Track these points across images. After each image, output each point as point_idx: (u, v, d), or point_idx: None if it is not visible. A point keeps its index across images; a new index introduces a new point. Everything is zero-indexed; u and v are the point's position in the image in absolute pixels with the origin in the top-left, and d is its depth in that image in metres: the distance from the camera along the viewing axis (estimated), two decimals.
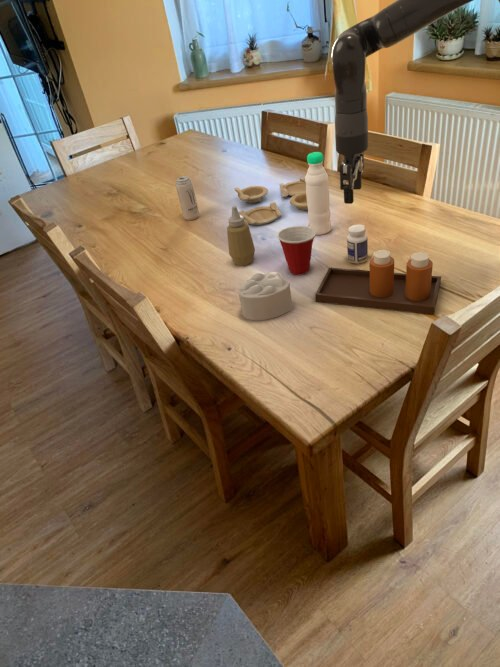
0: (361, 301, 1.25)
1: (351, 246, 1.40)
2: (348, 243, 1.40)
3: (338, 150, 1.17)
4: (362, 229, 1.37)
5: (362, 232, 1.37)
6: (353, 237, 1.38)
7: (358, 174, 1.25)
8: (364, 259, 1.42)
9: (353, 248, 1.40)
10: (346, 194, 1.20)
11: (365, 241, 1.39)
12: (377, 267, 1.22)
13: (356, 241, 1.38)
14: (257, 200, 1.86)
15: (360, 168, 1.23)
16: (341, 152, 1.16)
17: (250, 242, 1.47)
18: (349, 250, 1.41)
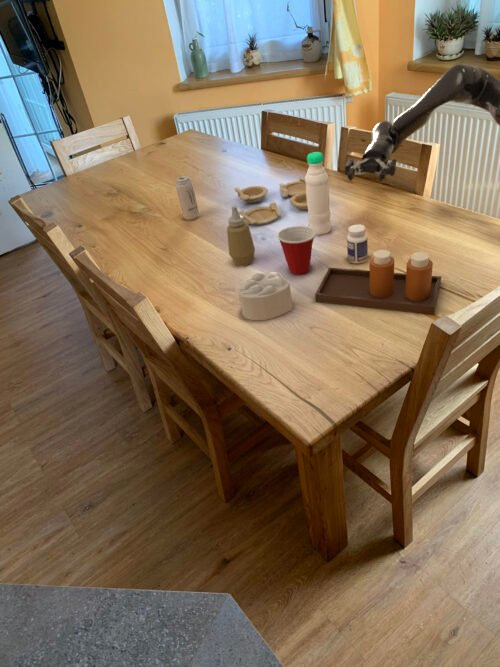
0: (361, 301, 1.25)
1: (351, 246, 1.40)
2: (348, 243, 1.40)
3: None
4: (362, 229, 1.37)
5: (362, 232, 1.37)
6: (353, 237, 1.38)
7: None
8: (364, 259, 1.42)
9: (353, 248, 1.40)
10: None
11: (365, 241, 1.39)
12: (377, 267, 1.22)
13: (356, 241, 1.38)
14: (257, 200, 1.86)
15: (379, 164, 1.42)
16: None
17: (250, 242, 1.47)
18: (349, 250, 1.41)
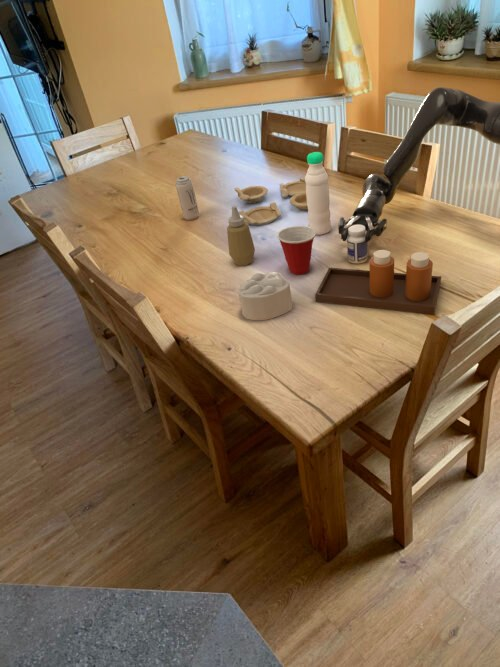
0: (361, 301, 1.25)
1: (351, 246, 1.40)
2: (348, 243, 1.40)
3: None
4: (362, 229, 1.37)
5: (362, 232, 1.37)
6: (353, 237, 1.38)
7: None
8: (364, 259, 1.42)
9: (353, 248, 1.40)
10: None
11: None
12: (377, 267, 1.22)
13: (356, 241, 1.38)
14: (257, 200, 1.86)
15: (367, 224, 1.40)
16: None
17: (250, 242, 1.47)
18: (349, 250, 1.41)
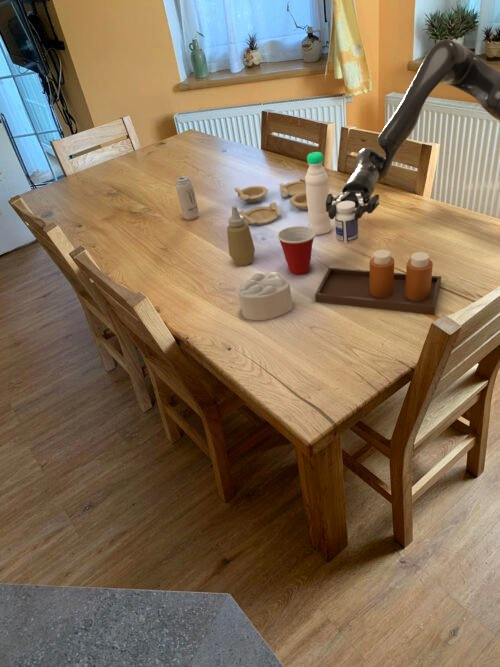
0: (361, 301, 1.25)
1: (340, 225, 1.26)
2: (336, 221, 1.26)
3: None
4: (351, 205, 1.24)
5: (351, 209, 1.23)
6: (342, 214, 1.25)
7: None
8: (354, 239, 1.28)
9: (342, 227, 1.26)
10: None
11: (354, 219, 1.25)
12: (377, 267, 1.22)
13: (345, 219, 1.24)
14: (257, 200, 1.86)
15: (357, 200, 1.27)
16: None
17: (250, 242, 1.47)
18: (337, 229, 1.27)
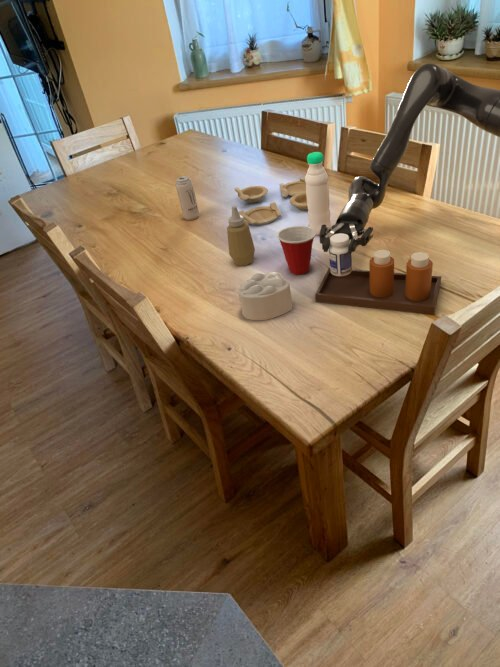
0: (361, 301, 1.25)
1: (334, 258, 1.25)
2: (330, 254, 1.26)
3: None
4: (345, 239, 1.23)
5: (345, 242, 1.23)
6: (335, 248, 1.24)
7: None
8: (348, 272, 1.28)
9: (336, 260, 1.25)
10: None
11: None
12: (377, 267, 1.22)
13: (338, 252, 1.24)
14: (257, 200, 1.86)
15: (351, 233, 1.26)
16: None
17: (250, 242, 1.47)
18: (331, 262, 1.27)
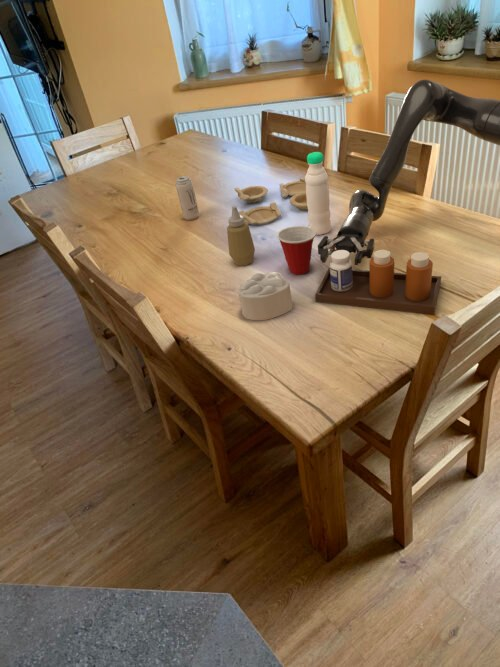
0: (361, 301, 1.25)
1: (334, 274, 1.28)
2: (331, 270, 1.29)
3: None
4: (346, 255, 1.26)
5: (346, 259, 1.26)
6: (336, 264, 1.27)
7: None
8: (348, 287, 1.30)
9: (336, 276, 1.28)
10: None
11: (349, 268, 1.27)
12: (377, 267, 1.22)
13: (339, 269, 1.27)
14: (257, 200, 1.86)
15: (355, 245, 1.29)
16: None
17: (250, 242, 1.47)
18: (332, 277, 1.30)
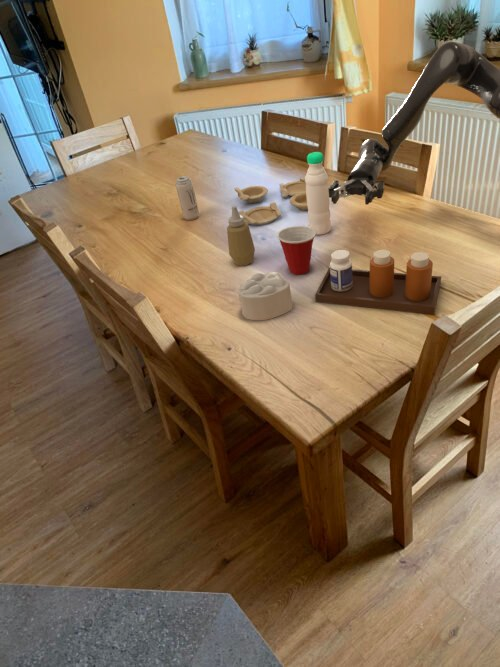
0: (361, 301, 1.25)
1: (334, 274, 1.28)
2: (331, 270, 1.29)
3: None
4: (346, 255, 1.26)
5: (346, 259, 1.26)
6: (336, 264, 1.27)
7: None
8: (348, 287, 1.30)
9: (336, 276, 1.28)
10: None
11: (349, 268, 1.27)
12: (377, 267, 1.22)
13: (339, 269, 1.27)
14: (257, 200, 1.86)
15: (366, 186, 1.31)
16: None
17: (250, 242, 1.47)
18: (332, 277, 1.30)
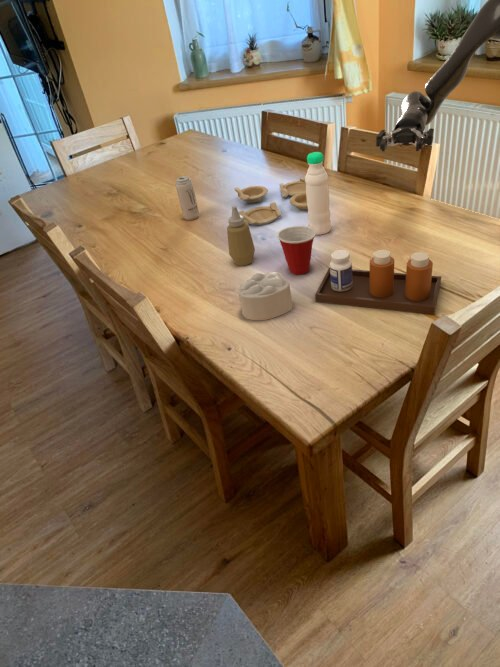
0: (361, 301, 1.25)
1: (334, 274, 1.28)
2: (331, 270, 1.29)
3: None
4: (346, 255, 1.26)
5: (346, 259, 1.26)
6: (336, 264, 1.27)
7: None
8: (348, 287, 1.30)
9: (336, 276, 1.28)
10: None
11: (349, 268, 1.27)
12: (377, 267, 1.22)
13: (339, 269, 1.27)
14: (257, 200, 1.86)
15: (415, 134, 1.28)
16: None
17: (250, 242, 1.47)
18: (332, 277, 1.30)
